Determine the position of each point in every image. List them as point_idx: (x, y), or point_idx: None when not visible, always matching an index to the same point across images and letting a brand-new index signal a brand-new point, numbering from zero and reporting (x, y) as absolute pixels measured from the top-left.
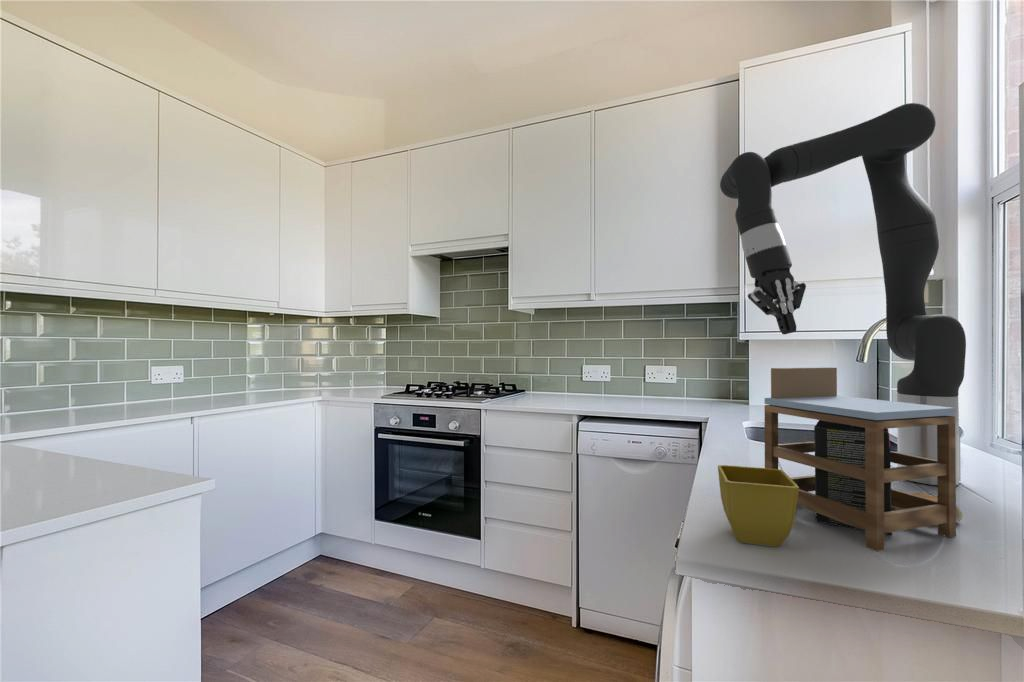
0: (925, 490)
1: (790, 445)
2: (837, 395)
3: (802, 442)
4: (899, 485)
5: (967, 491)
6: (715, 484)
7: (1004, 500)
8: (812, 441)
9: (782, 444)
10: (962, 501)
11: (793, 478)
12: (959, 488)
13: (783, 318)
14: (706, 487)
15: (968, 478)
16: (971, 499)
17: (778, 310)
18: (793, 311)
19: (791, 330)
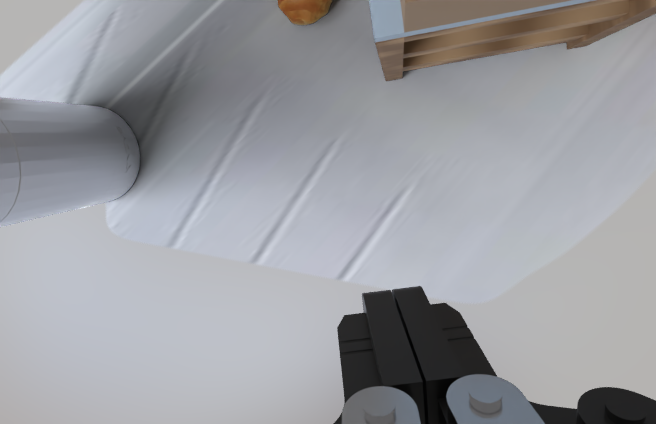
0: (163, 94)
1: (571, 10)
2: (372, 23)
3: (511, 32)
4: (184, 132)
5: (91, 77)
6: (584, 203)
7: (78, 19)
8: (470, 41)
9: (596, 12)
10: (159, 24)
11: (528, 37)
12: (87, 96)
13: (474, 371)
14: (623, 185)
15: None
16: (131, 32)
17: (589, 404)
18: (356, 396)
19: (412, 288)
